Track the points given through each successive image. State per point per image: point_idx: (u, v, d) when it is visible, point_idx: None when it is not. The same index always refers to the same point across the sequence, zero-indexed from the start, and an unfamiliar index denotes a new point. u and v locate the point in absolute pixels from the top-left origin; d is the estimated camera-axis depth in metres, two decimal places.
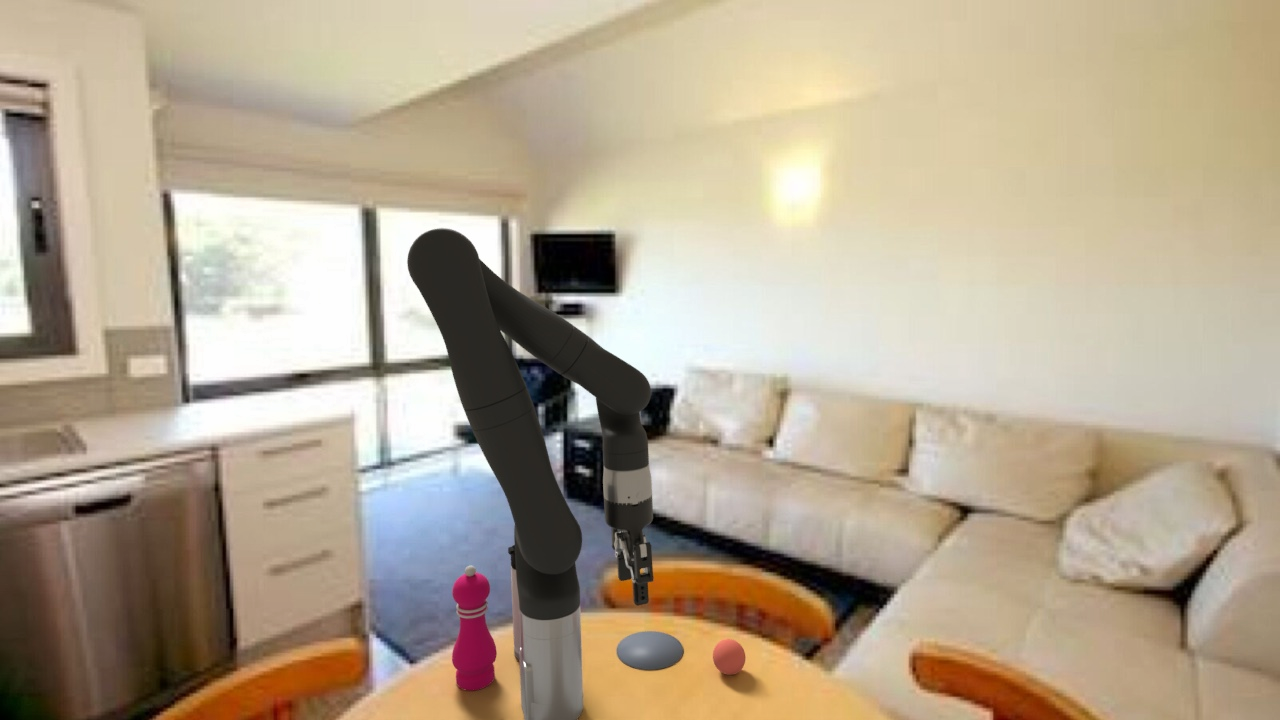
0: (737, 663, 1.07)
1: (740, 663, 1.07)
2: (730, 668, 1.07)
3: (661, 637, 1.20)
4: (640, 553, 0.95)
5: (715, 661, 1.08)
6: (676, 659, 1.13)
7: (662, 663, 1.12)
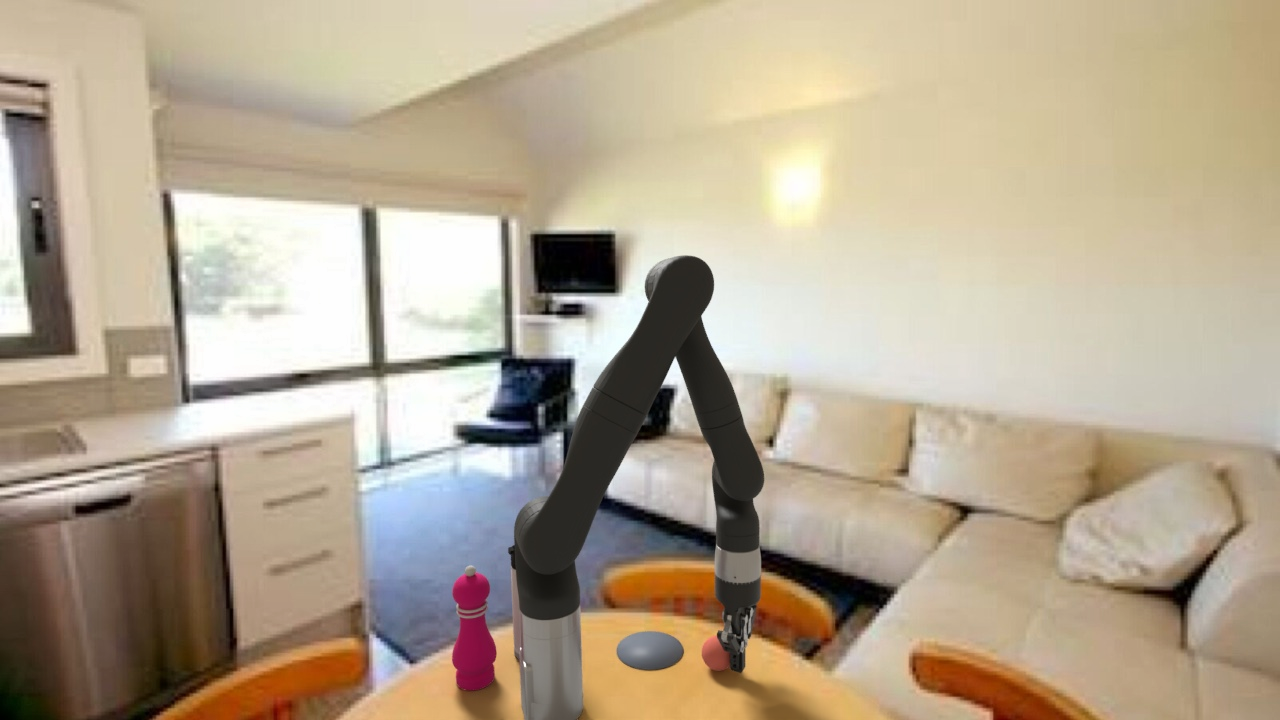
0: (723, 652, 1.08)
1: None
2: (719, 659, 1.08)
3: (661, 637, 1.20)
4: None
5: (705, 662, 1.09)
6: (676, 659, 1.13)
7: (662, 663, 1.12)
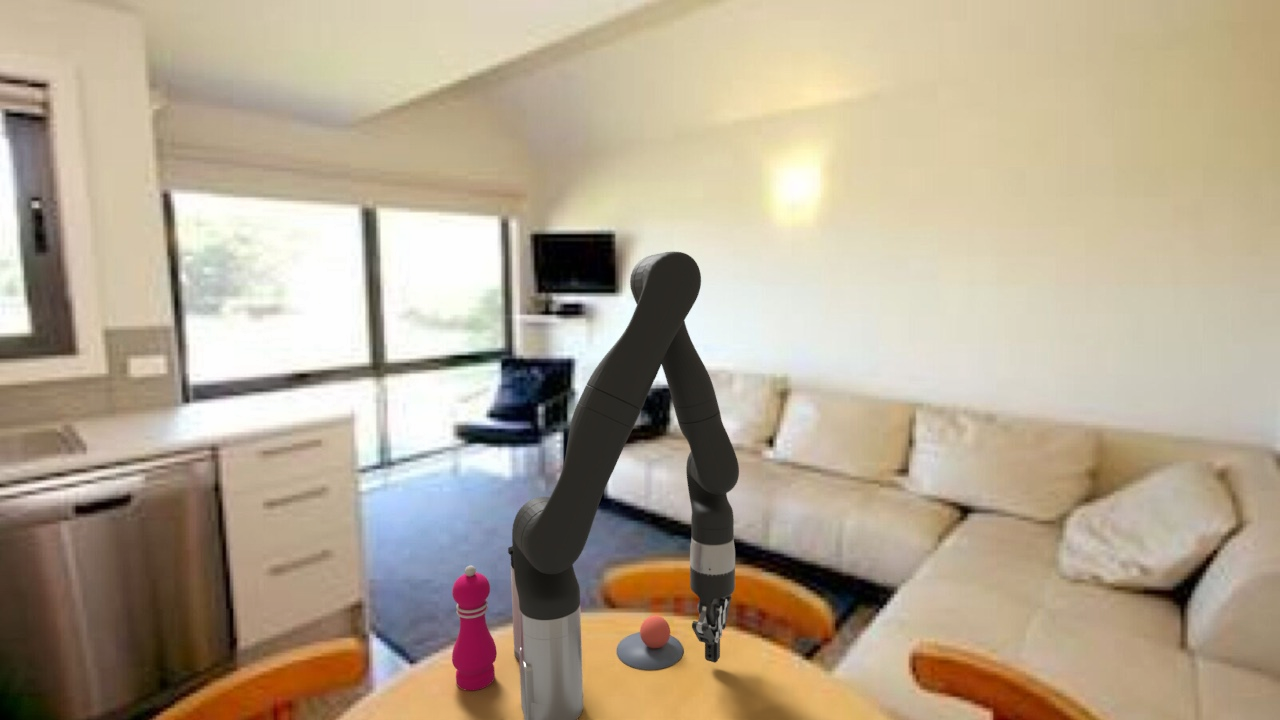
0: None
1: None
2: (648, 645, 1.16)
3: None
4: None
5: (645, 630, 1.16)
6: (676, 659, 1.13)
7: (662, 663, 1.12)
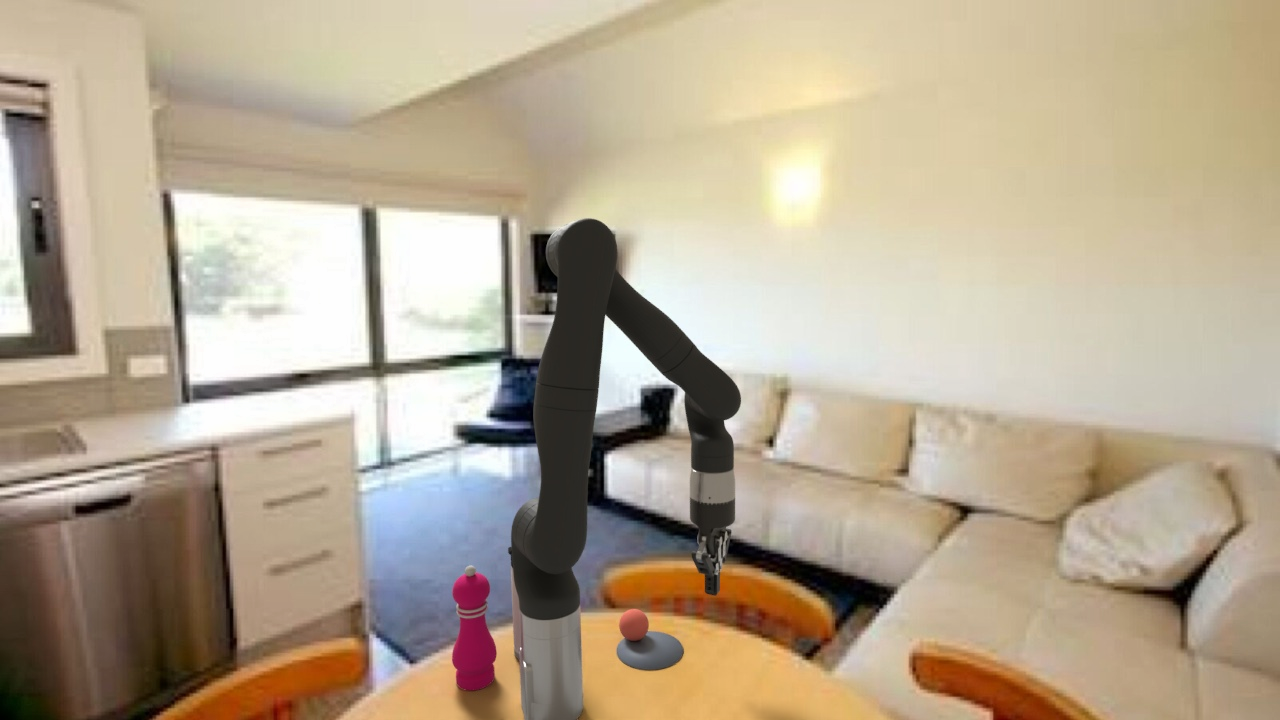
0: (638, 626, 1.18)
1: (641, 625, 1.18)
2: (633, 631, 1.17)
3: (661, 637, 1.20)
4: None
5: (621, 631, 1.19)
6: (676, 659, 1.13)
7: (662, 663, 1.12)
